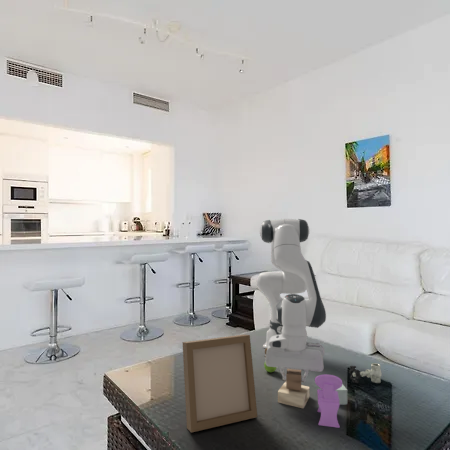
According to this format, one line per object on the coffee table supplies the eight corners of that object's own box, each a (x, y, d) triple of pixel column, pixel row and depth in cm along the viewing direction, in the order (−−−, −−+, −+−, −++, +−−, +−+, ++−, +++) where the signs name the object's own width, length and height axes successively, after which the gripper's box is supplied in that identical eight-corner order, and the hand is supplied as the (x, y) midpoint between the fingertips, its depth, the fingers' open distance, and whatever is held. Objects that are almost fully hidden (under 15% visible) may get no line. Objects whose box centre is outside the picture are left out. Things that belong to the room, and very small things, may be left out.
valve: (375, 377, 141) (348, 379, 139) (375, 361, 141) (348, 362, 139) (385, 384, 134) (357, 386, 132) (385, 367, 134) (357, 369, 132)
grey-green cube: (328, 397, 123) (328, 383, 123) (342, 397, 123) (342, 383, 123) (332, 404, 118) (333, 389, 118) (347, 404, 118) (347, 390, 118)
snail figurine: (279, 375, 142) (279, 346, 142) (263, 373, 143) (263, 344, 143) (279, 370, 147) (279, 342, 147) (264, 368, 148) (264, 340, 148)
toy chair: (340, 413, 112) (340, 367, 113) (343, 428, 104) (343, 378, 104) (314, 410, 114) (314, 364, 114) (314, 424, 106) (315, 375, 106)
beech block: (285, 392, 127) (285, 381, 127) (309, 397, 123) (309, 386, 123) (277, 403, 119) (277, 391, 119) (303, 409, 115) (303, 397, 115)
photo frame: (257, 420, 108) (258, 340, 108) (191, 436, 99) (192, 348, 100) (237, 398, 121) (237, 327, 122) (177, 411, 113) (178, 334, 113)
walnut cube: (287, 382, 124) (287, 368, 124) (301, 384, 123) (301, 370, 123) (286, 388, 119) (286, 374, 119) (301, 390, 118) (301, 375, 118)
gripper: (324, 341, 122) (324, 380, 122) (266, 336, 127) (266, 374, 127) (325, 346, 116) (324, 388, 116) (264, 341, 121) (264, 381, 121)
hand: (293, 380), depth 121 cm, fingers closed on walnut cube, 5 cm apart
